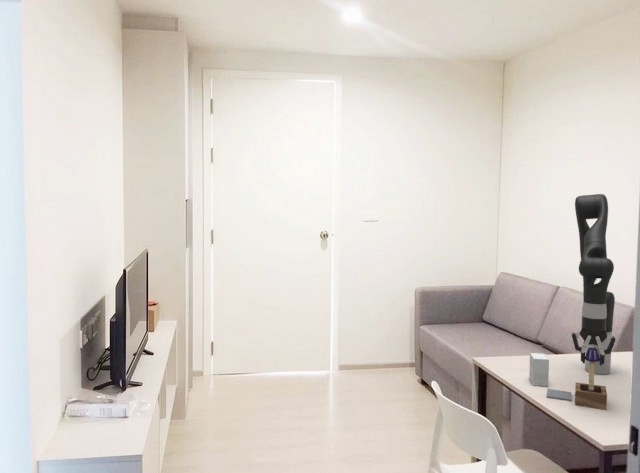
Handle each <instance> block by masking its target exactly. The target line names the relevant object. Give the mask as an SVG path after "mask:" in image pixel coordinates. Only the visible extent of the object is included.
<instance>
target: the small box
mask: <svg viewBox="0 0 640 473" xmlns="http://www.w3.org/2000/svg"><path fill="white" fill-rule="evenodd" d="M549 369H550V359H549V358H548V357H547V355H546V353H538V352H537V353H536V352H533V353H532V352H529V372H528V373H529V374H528V375H529V376H528V377H529V381H530V383H531V384H532V386H535V387H536V386H537V387H538V386H539V387H549V379H550V378H549V374H550V372H549Z"/></svg>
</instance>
